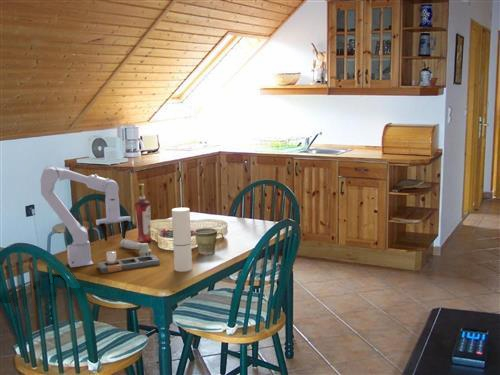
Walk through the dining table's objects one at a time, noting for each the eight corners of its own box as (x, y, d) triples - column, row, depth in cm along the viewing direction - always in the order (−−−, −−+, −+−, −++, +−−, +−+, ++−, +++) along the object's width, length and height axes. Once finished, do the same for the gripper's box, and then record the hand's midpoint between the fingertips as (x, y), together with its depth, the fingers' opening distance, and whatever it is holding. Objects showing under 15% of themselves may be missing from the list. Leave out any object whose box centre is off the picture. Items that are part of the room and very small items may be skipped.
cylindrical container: (192, 265, 258) (190, 207, 254) (191, 271, 251) (188, 210, 247) (175, 266, 258) (172, 207, 254) (173, 271, 251) (170, 211, 247)
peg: (108, 270, 255) (107, 254, 254) (106, 267, 259) (105, 251, 257) (118, 269, 257) (117, 252, 255) (116, 266, 260) (114, 250, 259)
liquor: (143, 239, 303) (139, 182, 298) (155, 240, 300) (152, 183, 295) (133, 242, 297) (130, 185, 292) (146, 244, 294) (143, 186, 289)
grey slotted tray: (102, 273, 251) (102, 268, 251) (98, 267, 260) (97, 262, 259) (159, 264, 261) (159, 259, 261) (153, 259, 269) (153, 254, 269)
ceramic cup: (192, 254, 274) (191, 232, 273) (200, 248, 284) (199, 227, 282) (219, 256, 270) (218, 234, 269) (227, 250, 280) (226, 228, 278)
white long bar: (128, 237, 292) (152, 240, 272) (129, 251, 293) (154, 255, 273) (117, 239, 289) (141, 243, 269) (119, 253, 290) (143, 258, 269)
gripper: (97, 212, 259) (99, 243, 261) (131, 208, 264) (133, 239, 267) (94, 208, 265) (96, 239, 267) (127, 205, 271) (129, 235, 273)
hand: (114, 239), depth 268 cm, fingers open, 7 cm apart
